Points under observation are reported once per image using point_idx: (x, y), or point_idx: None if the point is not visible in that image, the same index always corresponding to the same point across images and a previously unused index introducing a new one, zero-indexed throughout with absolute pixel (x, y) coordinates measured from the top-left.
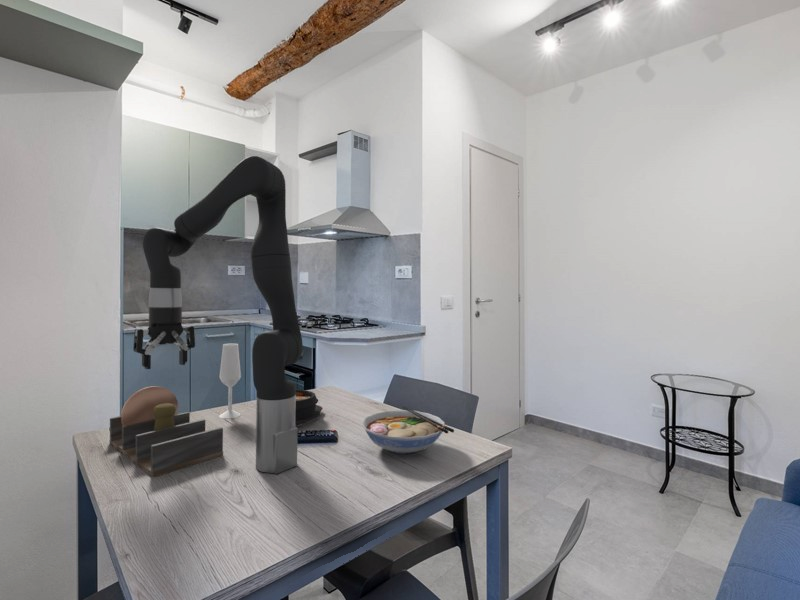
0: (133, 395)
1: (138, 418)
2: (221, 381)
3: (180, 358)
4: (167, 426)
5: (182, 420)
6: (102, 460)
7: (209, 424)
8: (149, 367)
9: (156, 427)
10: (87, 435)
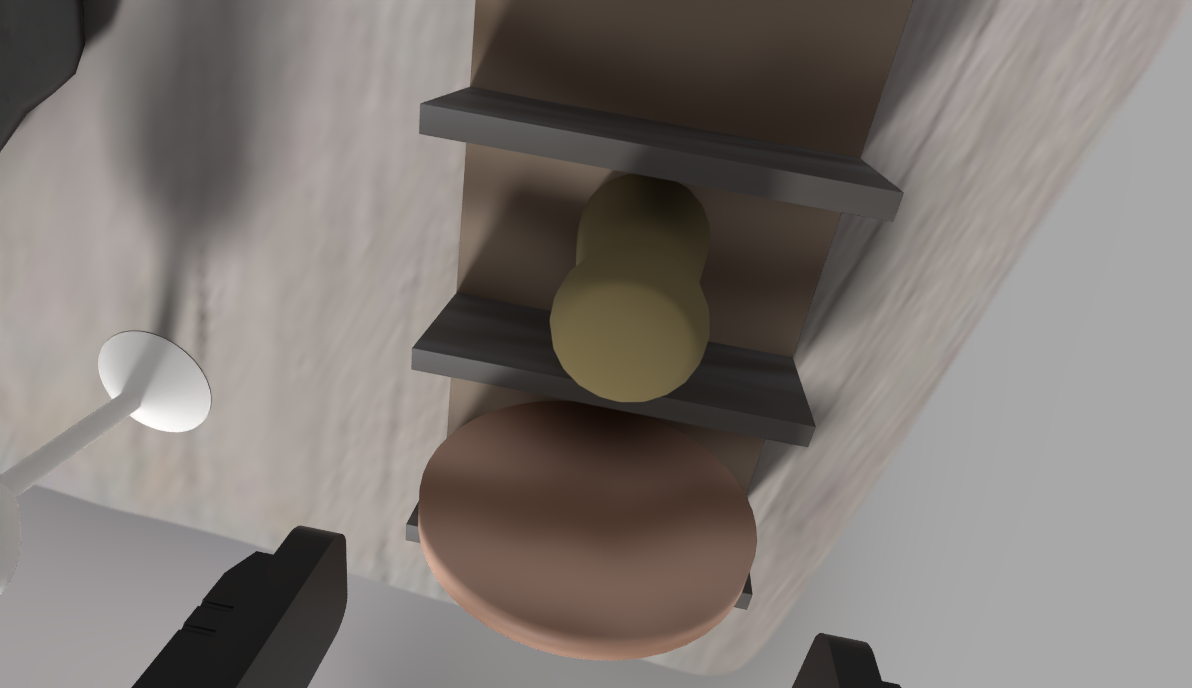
0: (694, 626)
1: (668, 491)
2: (19, 548)
3: (297, 666)
4: (651, 228)
5: (472, 337)
6: (886, 355)
7: (299, 355)
8: (850, 648)
9: (697, 278)
10: (724, 651)
